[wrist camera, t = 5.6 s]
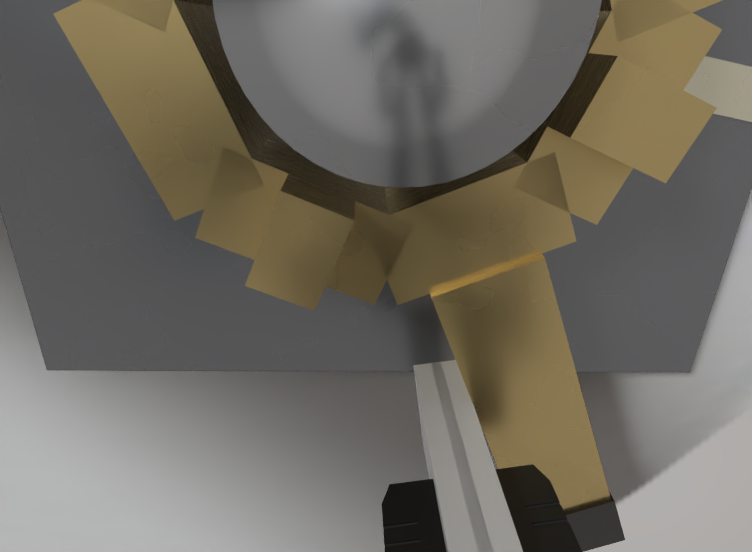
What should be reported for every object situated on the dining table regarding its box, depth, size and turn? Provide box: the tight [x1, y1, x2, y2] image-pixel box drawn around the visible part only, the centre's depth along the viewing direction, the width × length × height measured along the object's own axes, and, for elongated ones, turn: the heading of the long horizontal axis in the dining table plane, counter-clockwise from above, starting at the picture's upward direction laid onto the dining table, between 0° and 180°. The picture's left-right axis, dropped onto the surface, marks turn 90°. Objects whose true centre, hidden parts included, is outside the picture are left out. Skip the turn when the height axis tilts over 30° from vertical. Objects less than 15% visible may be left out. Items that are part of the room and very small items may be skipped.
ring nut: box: [53, 0, 722, 552], centre depth 12 cm, size 20×11×4 cm, turn 21°
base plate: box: [0, 0, 752, 372], centre depth 10 cm, size 21×20×7 cm
